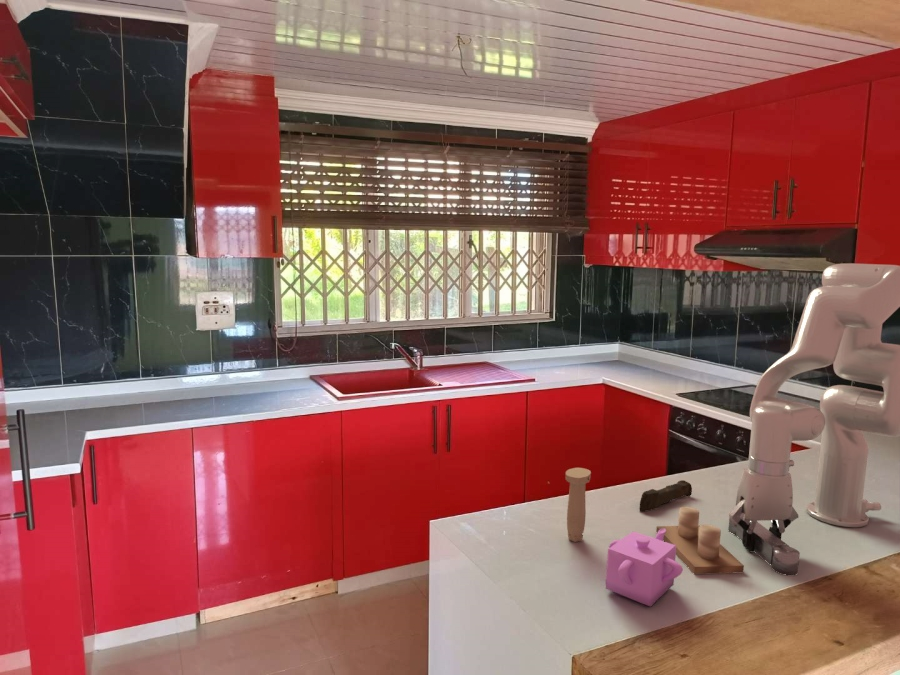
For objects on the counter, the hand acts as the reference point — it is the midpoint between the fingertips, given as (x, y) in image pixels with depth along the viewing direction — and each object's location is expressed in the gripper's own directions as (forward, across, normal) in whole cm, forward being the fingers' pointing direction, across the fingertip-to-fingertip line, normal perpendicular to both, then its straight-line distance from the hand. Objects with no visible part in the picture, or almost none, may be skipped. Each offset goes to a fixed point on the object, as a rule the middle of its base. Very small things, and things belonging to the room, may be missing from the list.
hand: (760, 547), depth 134 cm
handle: (+1, +38, -7) cm, 39 cm away
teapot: (+1, +31, +14) cm, 34 cm away
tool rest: (0, +14, 0) cm, 14 cm away
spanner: (0, 0, 0) cm, 0 cm away
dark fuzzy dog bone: (+1, +10, -25) cm, 27 cm away
